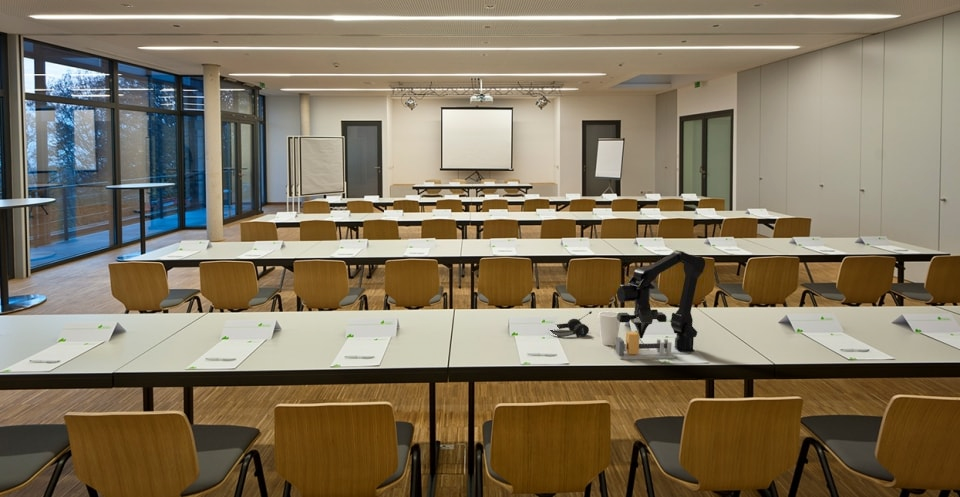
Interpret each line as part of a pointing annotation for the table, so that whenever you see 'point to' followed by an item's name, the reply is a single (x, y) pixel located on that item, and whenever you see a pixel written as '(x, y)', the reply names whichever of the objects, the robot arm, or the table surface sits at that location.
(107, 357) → the table surface
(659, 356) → the comb base
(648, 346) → the dark grey rod
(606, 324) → the foam cup
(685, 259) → the robot arm
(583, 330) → the headset
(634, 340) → the sleeve
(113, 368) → the table surface
